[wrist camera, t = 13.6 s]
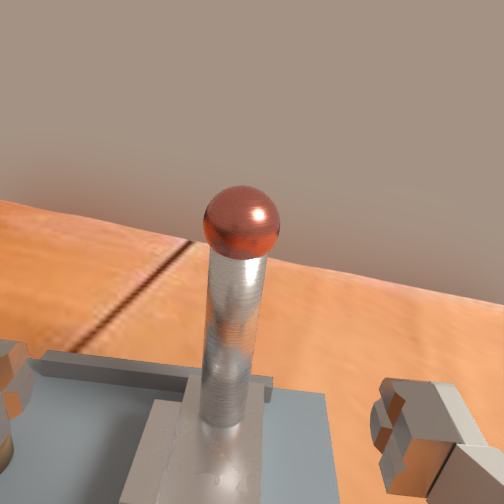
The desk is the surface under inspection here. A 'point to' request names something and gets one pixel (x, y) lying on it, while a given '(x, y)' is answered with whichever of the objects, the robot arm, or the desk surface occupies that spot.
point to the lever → (216, 374)
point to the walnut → (6, 452)
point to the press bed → (131, 429)
